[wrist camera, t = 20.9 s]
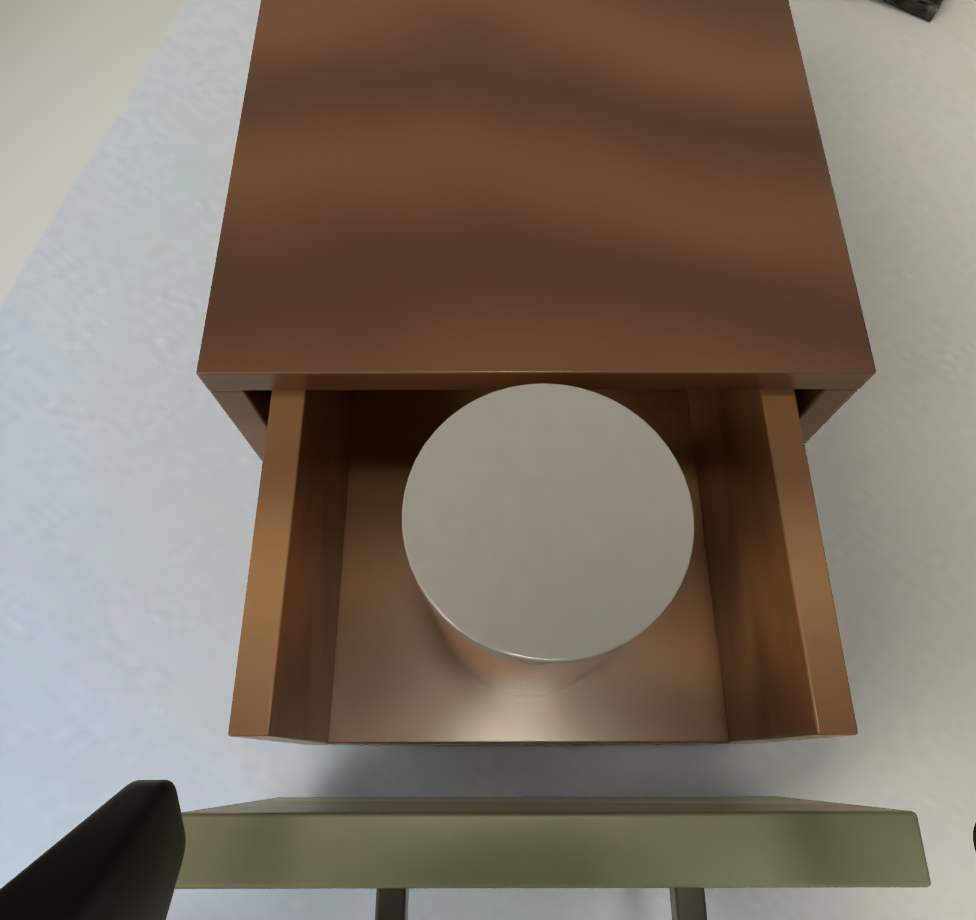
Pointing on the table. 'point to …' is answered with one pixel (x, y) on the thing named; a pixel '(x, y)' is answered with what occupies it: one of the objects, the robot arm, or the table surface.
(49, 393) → the table surface
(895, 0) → the book
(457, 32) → the cabinet
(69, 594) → the table surface
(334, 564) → the drawer
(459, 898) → the table surface
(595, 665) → the amber jar
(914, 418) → the table surface
